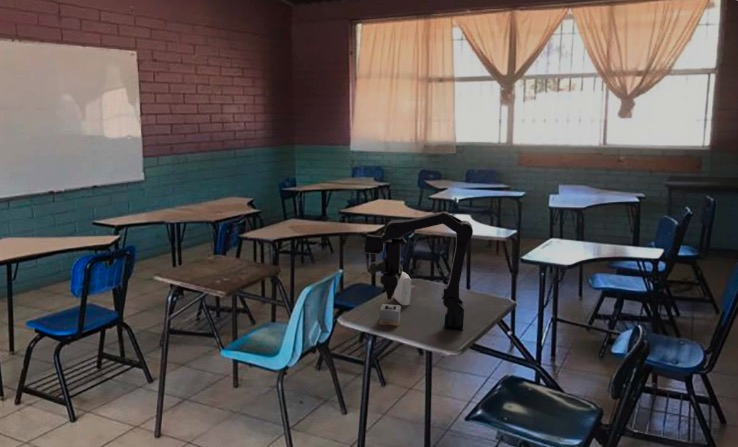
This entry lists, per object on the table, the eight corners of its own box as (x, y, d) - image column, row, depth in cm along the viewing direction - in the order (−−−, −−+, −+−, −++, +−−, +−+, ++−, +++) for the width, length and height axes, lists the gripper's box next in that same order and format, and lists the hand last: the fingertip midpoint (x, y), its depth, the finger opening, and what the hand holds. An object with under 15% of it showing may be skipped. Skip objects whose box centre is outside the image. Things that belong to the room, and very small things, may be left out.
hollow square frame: (400, 315, 236) (400, 305, 236) (398, 321, 230) (398, 311, 229) (381, 313, 237) (382, 303, 237) (379, 320, 231) (380, 309, 230)
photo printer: (411, 305, 254) (412, 275, 251) (401, 305, 252) (402, 276, 250) (402, 297, 263) (404, 269, 261) (392, 297, 262) (394, 269, 259)
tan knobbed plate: (400, 319, 237) (400, 304, 235) (398, 325, 230) (398, 310, 229) (381, 317, 238) (382, 302, 236) (379, 324, 231) (380, 308, 230)
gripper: (374, 247, 239) (372, 286, 242) (367, 259, 221) (365, 301, 224) (403, 249, 237) (401, 289, 240) (398, 261, 219) (396, 304, 222)
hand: (390, 295), depth 232 cm, fingers open, 9 cm apart
